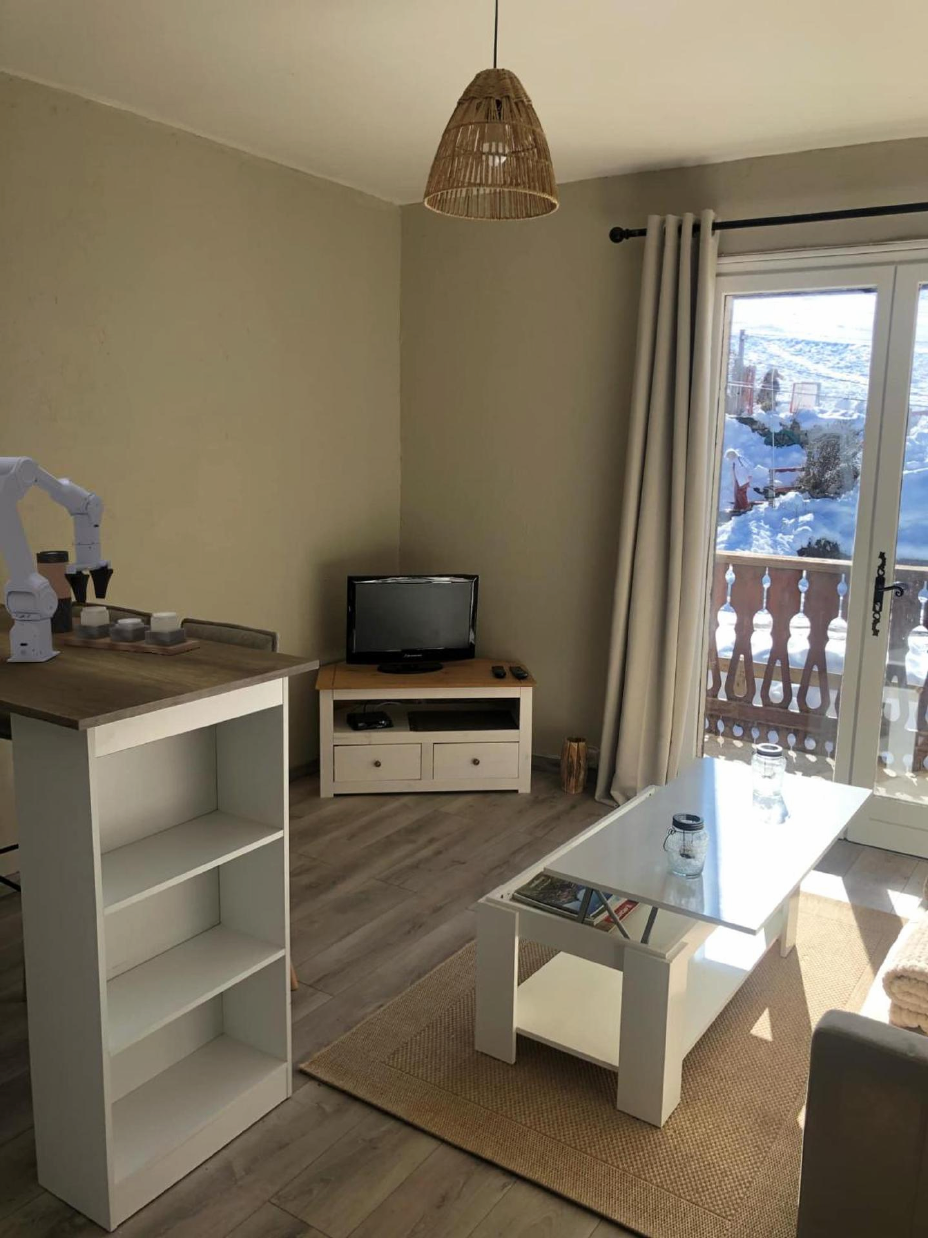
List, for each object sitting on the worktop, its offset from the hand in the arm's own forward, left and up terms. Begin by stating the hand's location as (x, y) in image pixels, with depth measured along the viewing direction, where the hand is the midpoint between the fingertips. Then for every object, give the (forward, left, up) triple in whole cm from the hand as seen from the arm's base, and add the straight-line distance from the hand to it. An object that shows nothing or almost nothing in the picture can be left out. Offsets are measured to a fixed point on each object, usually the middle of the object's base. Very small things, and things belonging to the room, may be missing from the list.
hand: (91, 600), depth 241 cm
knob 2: (-6, -11, -8) cm, 15 cm away
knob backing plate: (-6, -11, -10) cm, 16 cm away
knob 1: (-2, -1, -6) cm, 6 cm away
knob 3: (-10, -20, -6) cm, 23 cm away
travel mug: (+15, +14, -10) cm, 23 cm away
